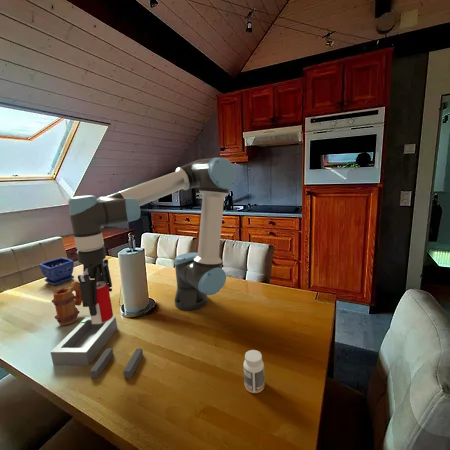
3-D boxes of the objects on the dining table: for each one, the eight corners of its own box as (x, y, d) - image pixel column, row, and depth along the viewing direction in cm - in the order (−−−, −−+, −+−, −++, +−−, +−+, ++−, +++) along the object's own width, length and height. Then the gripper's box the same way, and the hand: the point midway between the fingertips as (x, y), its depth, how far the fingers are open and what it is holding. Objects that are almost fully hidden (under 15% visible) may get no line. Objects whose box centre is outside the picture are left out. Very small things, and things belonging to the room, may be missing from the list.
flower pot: (77, 279, 154) (74, 260, 151) (53, 288, 143) (49, 267, 140) (65, 275, 161) (62, 256, 158) (42, 283, 150) (37, 264, 147)
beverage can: (107, 312, 88) (101, 278, 85) (117, 317, 84) (111, 283, 82) (88, 321, 83) (81, 286, 80) (98, 327, 79) (91, 291, 77)
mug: (68, 329, 105) (61, 295, 101) (51, 327, 106) (43, 293, 103) (93, 309, 119) (87, 279, 115) (77, 308, 120) (71, 278, 117)
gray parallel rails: (143, 354, 88) (142, 348, 88) (130, 378, 78) (129, 371, 78) (107, 354, 89) (106, 348, 89) (91, 378, 79) (89, 370, 79)
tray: (117, 328, 104) (115, 316, 103) (88, 365, 85) (85, 351, 83) (88, 328, 105) (86, 316, 104) (53, 365, 85) (50, 351, 84)
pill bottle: (262, 377, 77) (262, 347, 75) (266, 393, 71) (265, 362, 69) (243, 378, 77) (242, 348, 74) (245, 395, 71) (244, 363, 69)
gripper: (94, 239, 88) (105, 301, 93) (57, 259, 69) (73, 336, 74) (116, 238, 87) (125, 301, 93) (85, 258, 69) (99, 335, 74)
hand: (102, 316), depth 83 cm, fingers closed on beverage can, 6 cm apart
